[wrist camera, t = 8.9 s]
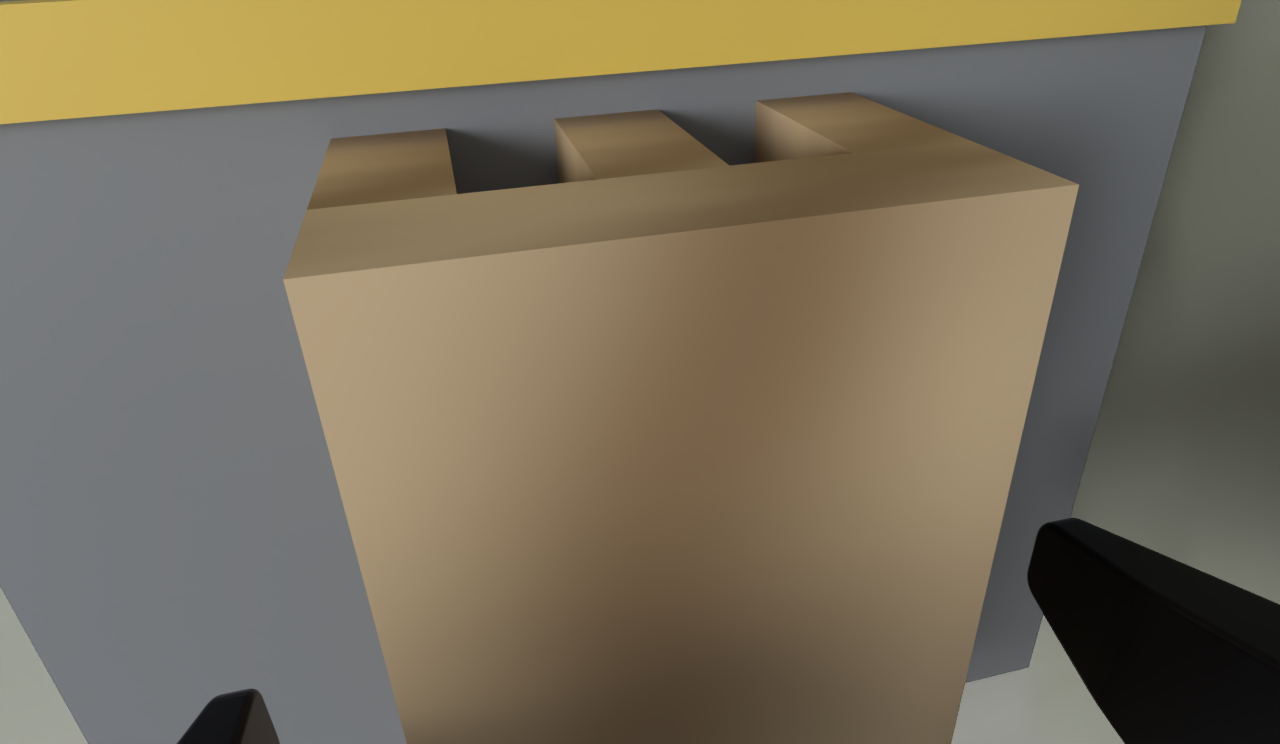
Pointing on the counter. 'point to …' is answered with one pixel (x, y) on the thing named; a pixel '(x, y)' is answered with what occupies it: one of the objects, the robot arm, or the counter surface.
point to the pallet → (679, 421)
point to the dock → (481, 161)
